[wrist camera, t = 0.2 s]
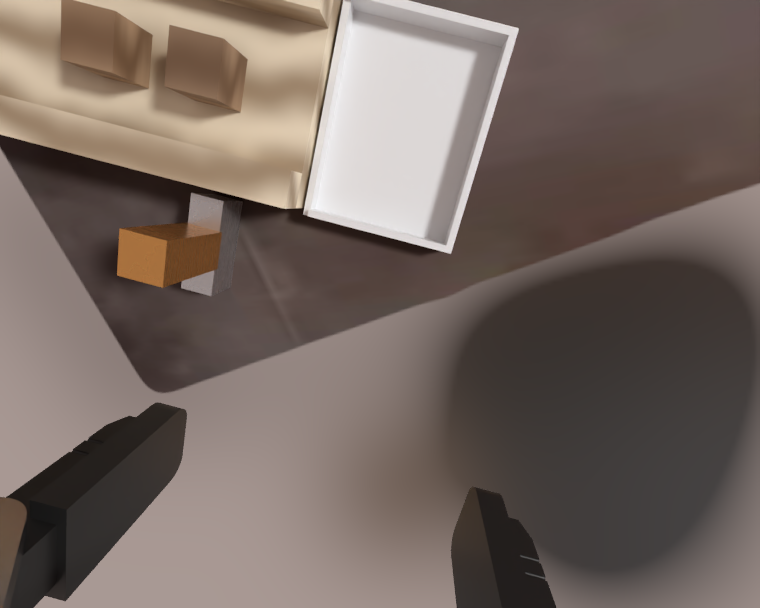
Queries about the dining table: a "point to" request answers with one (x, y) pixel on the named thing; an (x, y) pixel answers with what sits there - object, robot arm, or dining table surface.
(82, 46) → the brown wooden cube
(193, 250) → the scraper
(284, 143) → the channel board
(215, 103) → the brown cube
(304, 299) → the dining table surface
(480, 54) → the tray
